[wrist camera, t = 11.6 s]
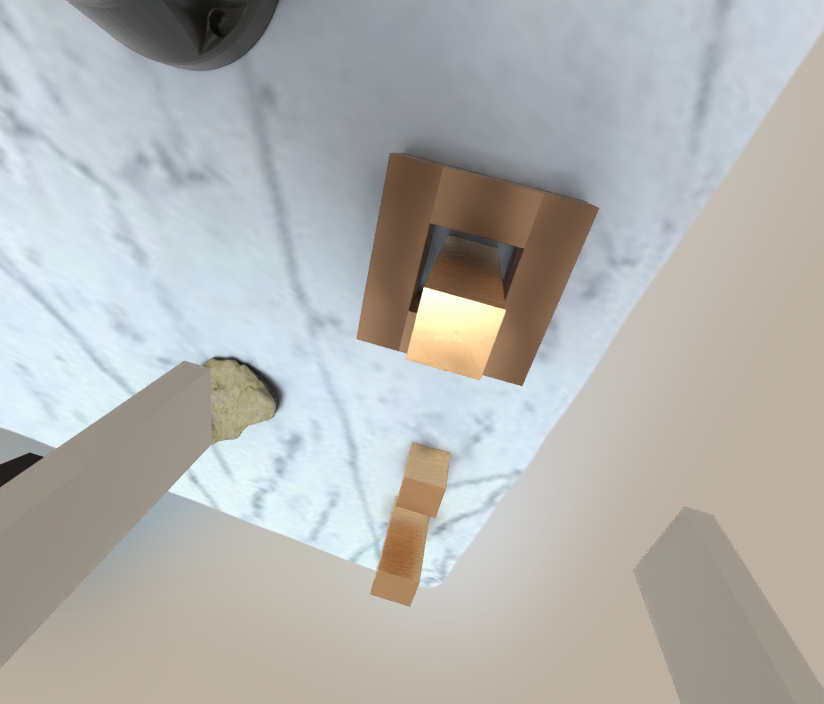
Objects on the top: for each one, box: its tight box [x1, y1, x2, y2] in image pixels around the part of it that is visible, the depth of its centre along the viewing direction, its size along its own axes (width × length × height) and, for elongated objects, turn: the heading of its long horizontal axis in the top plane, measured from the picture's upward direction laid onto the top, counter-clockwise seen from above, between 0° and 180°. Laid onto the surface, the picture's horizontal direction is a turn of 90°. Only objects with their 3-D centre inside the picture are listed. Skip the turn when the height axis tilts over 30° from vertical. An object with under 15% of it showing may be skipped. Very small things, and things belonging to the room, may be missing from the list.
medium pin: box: [371, 496, 429, 606], centre depth 41 cm, size 4×4×9 cm
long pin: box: [406, 235, 506, 380], centre depth 26 cm, size 4×4×14 cm
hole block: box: [356, 153, 599, 386], centre depth 30 cm, size 14×14×4 cm
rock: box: [202, 358, 278, 445], centre depth 40 cm, size 11×6×10 cm
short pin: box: [396, 442, 450, 518], centre depth 39 cm, size 4×4×5 cm
